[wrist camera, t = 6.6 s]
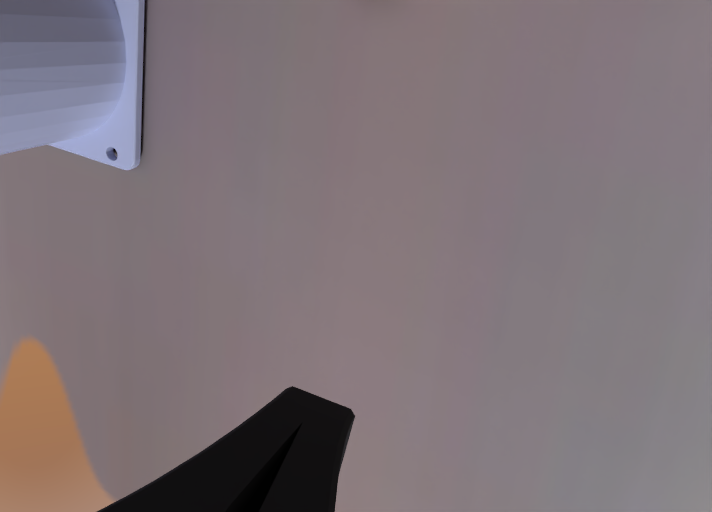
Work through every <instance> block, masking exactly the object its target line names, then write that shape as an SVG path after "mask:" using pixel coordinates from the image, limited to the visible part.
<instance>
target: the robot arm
mask: <svg viewBox="0 0 712 512" xmlns="http://www.w3.org/2000/svg"><path fill="white" fill-rule="evenodd" d="M144 5H145V0H0V155H1V154H6V153H10V152H15V151H20V150H24V149H29V148H33V147H38V146H42V145H50V146H53V147H57V148H60V149H63V150H66V151H69V152H72V153H75V154H78V155H81V156H84V157H87V158H90V159H93V160H96V161H99V162H102V163H105V164H108V165H111V166H114V167H117V168H120V169H123V170H130V169H133V168H135V167H137V166H138V165H139V163H140V152H141V115H142V79H143V42H144ZM113 149H115V150H116V151H117V154H118V157H116V156H115V154H114V151H113ZM354 418H355V415H354V414H353V412H352V410H351V409H349V408H347V407H344V406H342V405H339V404H337V403H334V402H331V401H329V400H326V399H324V398H321V397H319V396H316V395H314V394H311V393H308V392H306V391H303V390H301V389H298V388H296V387H293V386H292V387H289V388H287V389H285V390H284V391H283V392H282V393H281V394H279V395H278V396H277V397H276V398H274V399H273V400H272V401H271V402H269V403H268V404H267V405H266V406H264V407H263V408H262V409H261V410H259V411H258V412H257V413H255V414H254V415H253V416H251V417H250V418H249V419H247V420H246V421H245V422H243V423H242V424H241V425H239V426H238V427H236V428H235V429H233V430H232V431H231V432H229V433H228V434H226V435H225V436H223V437H222V438H220V439H219V440H218V441H216V442H215V443H213V444H212V445H210V446H209V447H207V448H206V449H204V450H203V451H201V452H200V453H198V454H197V455H195V456H194V457H192V458H190V459H189V460H187V461H186V462H184V463H182V464H181V465H179V466H177V467H176V468H174V469H173V470H171V471H169V472H168V473H166V474H164V475H163V476H161V477H160V478H158V479H156V480H155V481H153V482H151V483H149V484H148V485H146V486H144V487H142V488H140V489H139V490H137V491H135V492H133V493H131V494H130V495H128V496H126V497H124V498H122V499H120V500H118V501H116V502H115V503H113V504H111V505H109V506H107V507H105V508H103V509H101V510H99V511H97V512H335V502H336V493H337V483H338V476H339V472H340V468H341V464H342V461H343V457H344V454H345V450H346V446H347V443H348V439H349V436H350V432H351V428H352V425H353V421H354Z"/></svg>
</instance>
